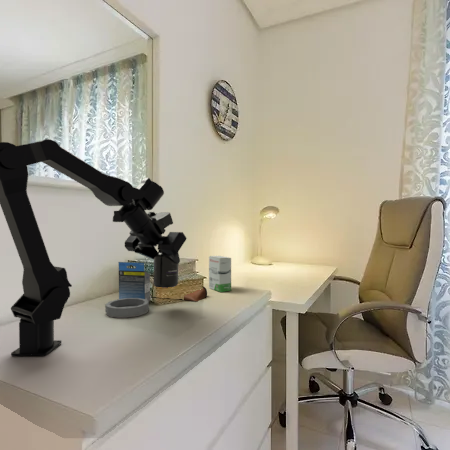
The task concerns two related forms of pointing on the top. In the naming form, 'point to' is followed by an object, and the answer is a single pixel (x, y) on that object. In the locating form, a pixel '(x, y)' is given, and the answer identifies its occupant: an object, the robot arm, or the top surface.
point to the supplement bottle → (164, 271)
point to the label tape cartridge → (133, 281)
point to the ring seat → (127, 307)
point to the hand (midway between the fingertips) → (169, 261)
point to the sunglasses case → (196, 295)
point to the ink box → (220, 273)
